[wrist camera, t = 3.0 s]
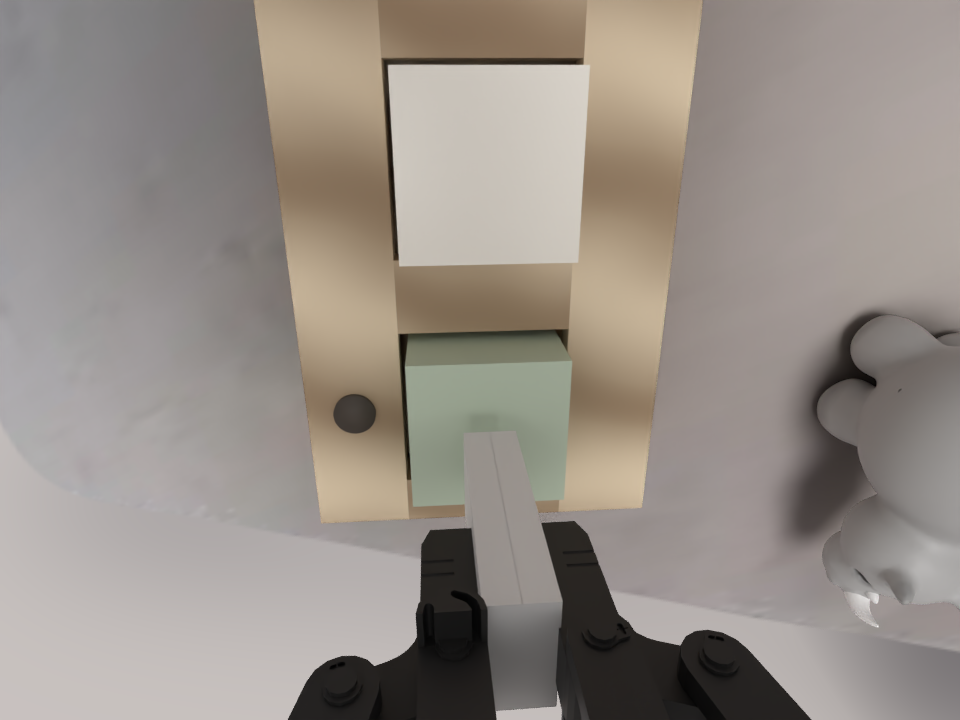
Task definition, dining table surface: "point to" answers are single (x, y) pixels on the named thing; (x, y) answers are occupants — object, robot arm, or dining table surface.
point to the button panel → (473, 288)
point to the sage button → (486, 406)
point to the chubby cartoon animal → (899, 467)
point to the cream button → (488, 162)
